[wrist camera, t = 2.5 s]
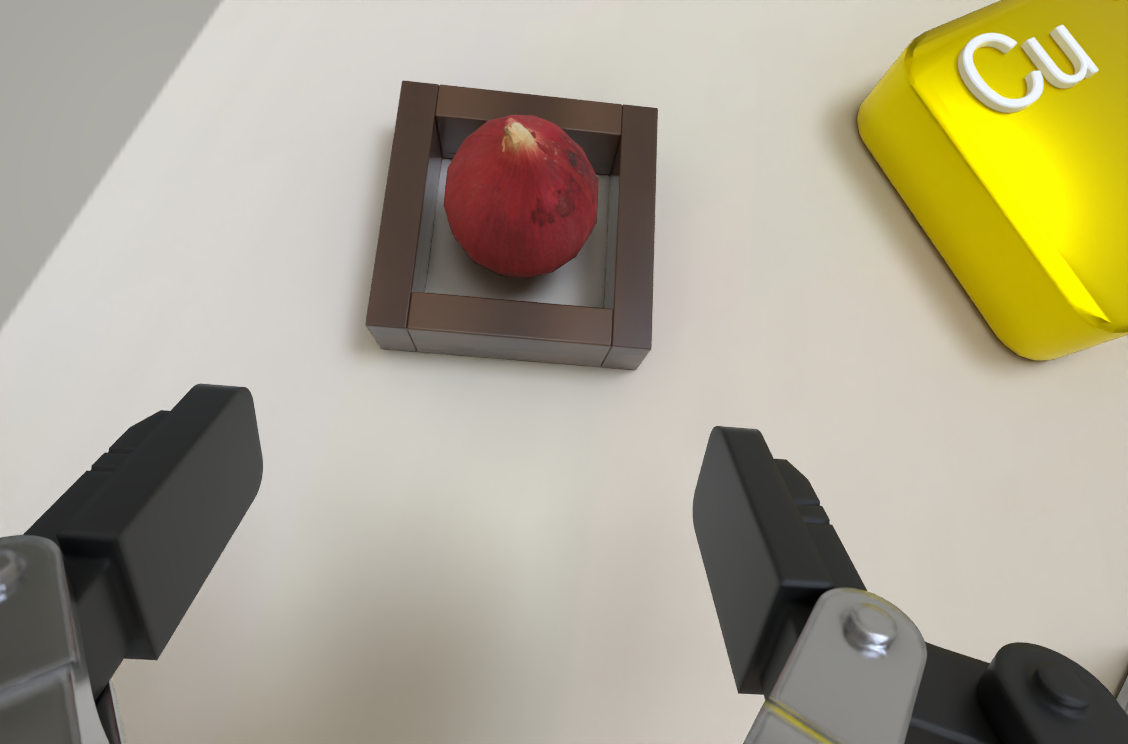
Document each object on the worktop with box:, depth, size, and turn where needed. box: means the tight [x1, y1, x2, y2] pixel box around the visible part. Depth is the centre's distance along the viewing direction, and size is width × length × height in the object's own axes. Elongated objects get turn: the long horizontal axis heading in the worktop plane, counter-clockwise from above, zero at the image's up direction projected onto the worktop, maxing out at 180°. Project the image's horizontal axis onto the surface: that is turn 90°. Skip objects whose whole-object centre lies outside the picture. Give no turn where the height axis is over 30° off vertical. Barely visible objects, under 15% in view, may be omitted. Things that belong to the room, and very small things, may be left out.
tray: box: [366, 81, 658, 370], centre depth 27 cm, size 11×11×3 cm
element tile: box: [857, 0, 1128, 361], centre depth 29 cm, size 15×15×5 cm
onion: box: [444, 115, 598, 278], centre depth 24 cm, size 6×6×8 cm
